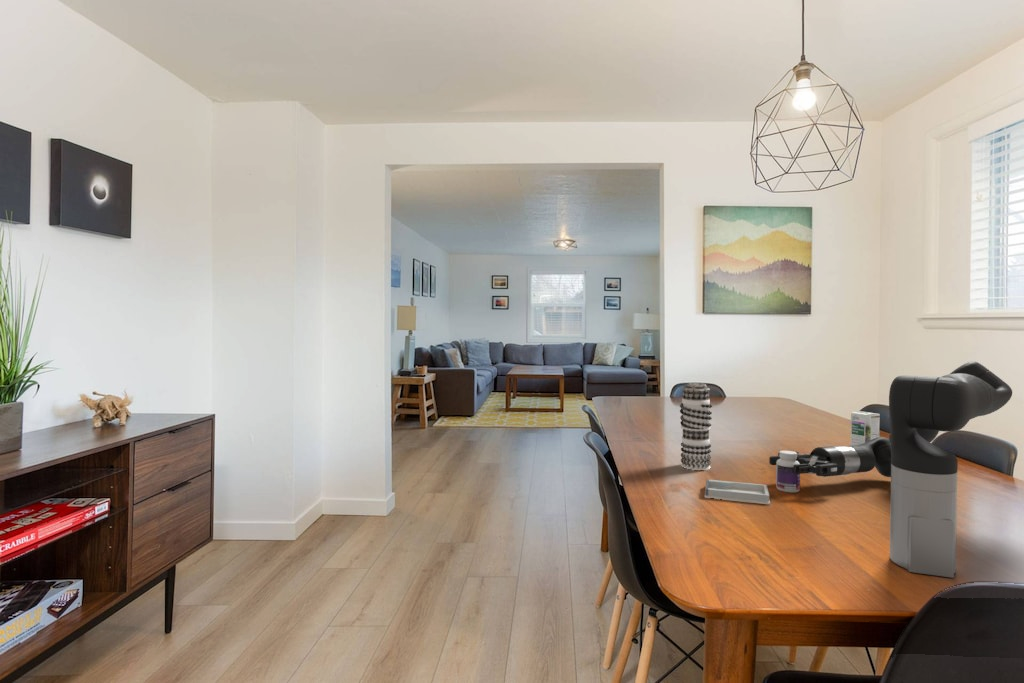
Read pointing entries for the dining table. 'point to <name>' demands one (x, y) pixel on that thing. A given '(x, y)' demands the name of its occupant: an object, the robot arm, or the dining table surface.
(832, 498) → the dining table surface
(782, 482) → the pill bottle
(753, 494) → the white rimmed tray
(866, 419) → the syrup box
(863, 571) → the dining table surface
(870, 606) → the dining table surface
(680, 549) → the dining table surface
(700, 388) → the decorative candle
